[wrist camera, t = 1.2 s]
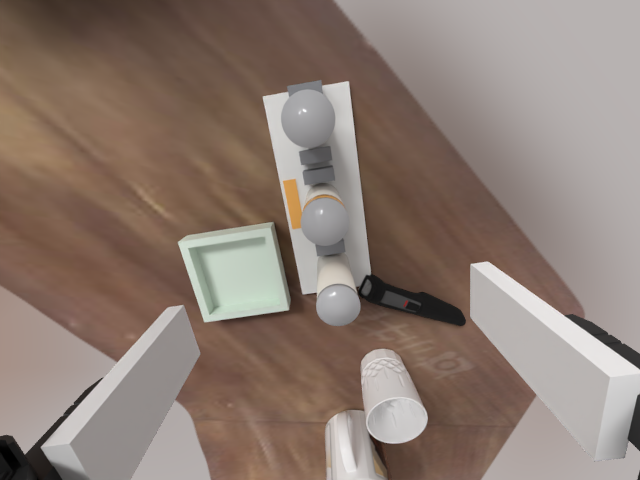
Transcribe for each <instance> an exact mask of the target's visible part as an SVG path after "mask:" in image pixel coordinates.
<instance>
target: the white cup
mask: <svg viewBox="0 0 640 480" xmlns="http://www.w3.org/2000/svg"><path fill="white" fill-rule="evenodd" d="M360 371H361V383H362V394H363V403H364V411H365V419H366V426H367V429H368V431H369V433H370V434H371V435H372V436H373V437H374V438H376V439H377V440H379V441H382V442H385V443H391V444H397V443H404V442H407V441H410V440H412V439H414V438H416V437H417V436H418V435H420V434H421V433H422V431H423V430H424V429H425V427H426V425H427V421H428V416H427V412H426V410H425V408H424V405H423V403H422V401H421V399H420V397H419V394H418V392H417V390H416V388H415V385H414V383H413V381H412V379H411V377H410V375H409V373H408V371H407V370H406V368H405V366H404V364H403V362H402V360H401V357H400V356H399V355H398V354H397V353H395V352H394V351H393V350H389V349H384V348H383V349H376V350H373V351H371V352H370V353H368V354H366V356H365V357H364V358H363V360H362V361H361V368H360Z"/></svg>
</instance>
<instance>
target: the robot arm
mask: <svg viewBox="0 0 640 480" xmlns="http://www.w3.org/2000/svg"><path fill="white" fill-rule="evenodd" d="M470 318H471V319H472V320H473V321H474V322H475V323H476V325H477V326H478V327H479V328H480V329H481V330H482V332H483V333H484V334H485V335H486V336H487V337H488V339H489V340H490V341H491V342H492V343H493V344H494V346H495V347H496V348H497V349H498V350H499V351H500V353H501V354H502V355H503V356H504V357H505V358H506V360H507V361H508V362H509V363H510V364H511V365H512V366H513V368H514V369H515V370H516V371H517V372H518V373H519V375H520V376H521V377H522V378H523V379H524V380H525V382H526V383H527V384H528V385H529V386H530V387H531V389H532V390H533V391H534V392H535V393H536V394H537V396H538V397H539V398H540V399H541V400H542V401H543V402H544V404H545V405H546V406H547V407H548V408H549V410H550V411H551V412H552V413H553V414H554V415H555V416H556V418H557V419H558V420H559V421H560V422H561V423H562V424H563V426H564V427H565V428H566V429H567V430H568V432H569V433H570V434H571V435H572V436H573V437H574V438H575V440H576V441H577V442H578V443H579V444H580V446H581V447H582V448H583V449H584V450H585V451H586V452H587V454H588V455H589V456H590V457H591V458H592V460H593V461H602V460H611V459H620V458H625V454H626V450H627V446H628V441H630V442H631V443H632V444H633V445H634V446H635V447H636V448H637V449H638V450H639V451H640V354H639V353H638V352H636V351H635V350H633V349H632V348H630V347H628V346H627V345H625V344H622V343H621V341H620V340H618V339H616V338H615V337H613V336H612V335H608V333H607V332H606V331H604V330H603V329H601V328H600V327H598V326H597V325H595V324H594V323H592V322H590V321H587V320H585V319H583V318H580V317H578V316H575V315H573V314H570V315H562V314H561V313H560V312H558V311H557V310H555V309H554V308H553V307H551V306H550V305H548V304H547V303H546V302H544V301H543V300H541V299H540V298H539V297H537V296H536V295H534V294H533V293H531V292H530V291H529V290H527V289H526V288H524V287H523V286H522V285H520V284H519V283H517V282H516V281H515V280H513V279H512V278H510V277H509V276H508V275H506V274H505V273H503V272H502V271H501V270H499V269H498V268H496V267H495V266H494V265H492V264H491V263H489V262H482V263H475V264H471V266H470ZM199 356H200V351H199V348H198V345H197V342H196V339H195V336H194V333H193V330H192V328H191V325H190V322H189V319H188V316H187V313H186V310H185V307H184V305H181V306H174V307H168V308H167V309H166V310H165V311H164V312H163V313H162V314H161V315H160V316H159V318H158V319H157V320H156V321H155V322H154V323H153V324H152V325H151V326H150V327H149V329H148V330H147V331H146V332H145V333H144V334H143V335H142V336H141V337H140V338H139V340H138V341H137V342H136V343H135V344H134V345H133V346H132V347H131V348H130V349H129V351H128V352H127V353H126V354H125V355H124V356H123V357H122V358H121V359H120V360H119V362H118V363H117V364H116V365H115V366H114V367H113V368H112V369H111V370H110V371H109V373H108V374H107V375H106V376H105V377H104V378H101V379H100V380H98V381H97V382H96V383H94V384H93V385H92V386H90V387H89V388H88V389H87V390H85V391H84V392H83V394H82V395H81V396H80V397H79V398H78V399H77V400H76V401H75V402H74V405H72V406H70V408H68V409H67V411H66V412H65V413H64V415H63V416H62V417H60V418H59V419H58V420H57V421H56V422H55V423H54V425H53V426H52V427H51V428H50V429H49V430H48V431H47V432H46V433H45V434H44V435H43V436H42V437H41V439H39V440H38V442H37V443H36V444H35V445H34V446H33V447H32V448H31V449H30V450H29V451H28V452H27V453H26V454H25V455H24V453H23V451H22V450H21V448H20V447H19V445H18V444H17V442H16V441H15V439H14V438H13V436H9V435H4V436H0V480H130V479H131V478H132V476H133V474H134V472H135V470H136V469H137V467H138V465H139V463H140V461H141V460H142V457H143V456H144V454H145V452H146V450H147V449H148V447H149V445H150V443H151V442H152V440H153V438H154V436H155V435H156V433H157V431H158V429H159V427H160V426H161V424H162V422H163V420H164V418H165V416H166V415H167V413H168V411H169V409H170V407H171V406H172V404H173V402H174V400H175V399H176V397H177V395H178V393H179V391H180V390H181V388H182V386H183V384H184V382H185V381H186V379H187V377H188V375H189V373H190V372H191V370H192V368H193V366H194V364H195V363H196V361H197V359H198V357H199ZM638 480H640V472H639V476H638Z"/></svg>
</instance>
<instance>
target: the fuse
mask: <svg viewBox="0 0 640 480" xmlns="http://www.w3.org/2000/svg"><path fill="white" fill-rule="evenodd" d="M316 309H317V313H318V315H319V317H320V318H321V319H322V320H323V321H324V322H325V323H327V324H330V325H333V326H343V325H346V324H349V323H351V322H352V321H353V320H355V319H356V317H357V316H358V314H359V312H360V300H359V297H358V294H357V290H356V286H355V283H354V279H353V275H352V271H351V267H350V263H349V259H348V257H347V255H346V254H345V253H337V254H331V255H324V256H319V258H318V262H317V302H316Z"/></svg>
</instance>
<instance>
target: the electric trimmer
mask: <svg viewBox="0 0 640 480" xmlns="http://www.w3.org/2000/svg"><path fill="white" fill-rule="evenodd" d="M358 293H359V295H360V296H361V297H362V298H364V299H365V300H367V301H369V302H371V303H374V304H377V305H380V306H384V307H388V308H392V309H395V310H399V311H403V312H407V313H412V314H415V315H419V316H423V317H427V318H431V319H435V320H439V321H443V322H447V323H451V324H455V325H459V326H462V325H464V324H465V323H466V319H465V317H464V315H463V314H462V312H461V311H460V310H459V309H458V308H456V307H454V306H452V305H450V304H448V303H446V302H444V301H442V300H440V299H438V298H436V297H433V296H431V295H429V294H427V293H424V292H420V293H412V292H409V291H406V290H403V289H400V288H397V287H394V286H391V285H389V284H386V283H384V282H383V281H382V280H381V279H380V278H378V277H377V276H375V275H370V276H369V275H366V276H365V277H364V279H363V281H362V283H361V285H360V287H359V291H358Z"/></svg>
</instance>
